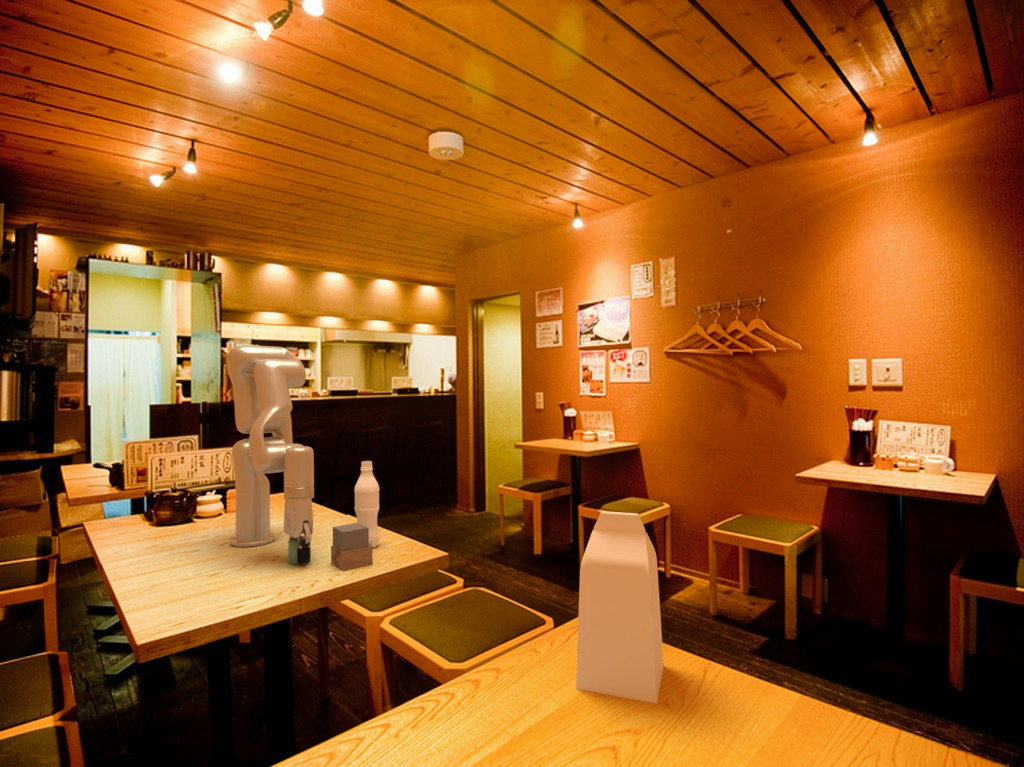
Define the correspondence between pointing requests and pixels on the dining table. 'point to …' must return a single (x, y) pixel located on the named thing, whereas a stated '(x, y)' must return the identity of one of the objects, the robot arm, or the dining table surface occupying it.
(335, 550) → the tower base
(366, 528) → the tower mid
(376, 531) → the water bottle
